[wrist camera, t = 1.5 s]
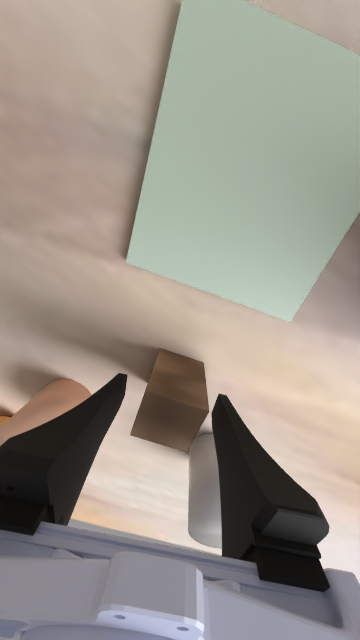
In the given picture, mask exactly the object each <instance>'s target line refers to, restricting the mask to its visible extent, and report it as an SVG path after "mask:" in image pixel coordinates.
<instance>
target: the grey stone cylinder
mask: <svg viewBox="0 0 360 640" xmlns="http://www.w3.org/2000/svg"><path fill="white" fill-rule="evenodd" d="M188 532H189V535H190V536H191V537H192V538H193V539H194V540H195V541H197V542H198V543H200V544H203V545H206V546H209V547H214V548H222V527H221V502H220V484H219V470H218V462H217V455H216V449H215V442H214V436H213V433H207V434H202V435H200V436H197V437H196V438H194V440H193V441H192V443H191V445H190V447H189V512H188Z"/></svg>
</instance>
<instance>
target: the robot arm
mask: <svg viewBox="0 0 360 640" xmlns="http://www.w3.org/2000/svg"><path fill="white" fill-rule="evenodd" d="M126 382H127V374H122V373H119V374H117V375H116V376H115V377H114V378H113V379H112V380H111V381H109V382H108V383H107V384H106V385H105V386H103V387H102V388H101V389H100V390H98V391H97V392H96V393H94V394H93V395H92V396H90V397H89V398H87V399H86V400H85V401H83V402H82V403H80V404H78V405H77V406H75V407H74V408H72V409H70V410H69V411H67V412H65V413H63V414H62V415H60V416H58V417H56V418H54V419H52V420H50V421H48V422H46V423H44V424H42V425H40V426H37V427H35V428H33V429H31V430H28V431H26V432H23V433H21V434H18V435H16V436H13V437H11V438H9V439H8V440H6V441H5V442H4V443H3V444H2V445H1V446H0V640H360V584H359V582H358V580H357V578H356V576H355V575H354V574H353V573H352V572H347V571H342V570H337V569H331V568H327V569H323V568H322V566H321V563H320V561H319V559H320V558H321V554H320V552H319V549H318V547H317V544H318V543H319V542H320V541H321V540H322V539H324V538H325V537H326V535H327V534H328V532H329V524H328V522H327V520H326V518H325V516H324V514H323V512H322V511H321V509H320V507H319V505H318V503H317V501H316V500H315V499H314V498H313V497H312V496H311V495H310V494H309V493H308V492H306V491H305V490H304V489H303V488H302V487H301V486H300V485H298V484H297V483H296V482H295V481H294V480H293V479H292V478H291V477H290V476H289V475H288V474H287V473H286V472H285V471H284V470H283V469H282V468H281V467H280V466H279V465H278V464H277V463H276V462H275V461H274V460H273V459H272V458H271V457H270V455H269V454H268V453H267V452H266V451H265V450H264V449H263V447H262V446H261V445H260V444H259V443H258V441H257V440H256V439H255V438H254V436H253V435H252V434H251V432H250V431H249V429H248V428H247V427H246V425H245V424H244V422H243V421H242V419H241V418H240V416H239V415H238V413H237V412H236V410H235V408H234V407H233V405H232V403H231V402H230V400H229V399H228V397H227V395H222V394H219V395H218V397H217V400H216V403H215V405H214V408H213V411H212V429H213V436H214V442H215V449H216V455H217V462H218V470H219V484H220V502H221V527H222V556H217V555H212V554H207V553H202V552H196V551H191V550H186V549H181V548H176V547H171V546H166V545H160V544H155V543H150V542H145V541H140V540H135V539H130V538H125V537H119V536H115V535H109V534H105V533H99V532H94V531H88V530H84V529H79V528H73V527H68V526H67V525H68V523H69V520H70V517H71V515H72V512H73V510H74V507H75V505H76V502H77V500H78V497H79V495H80V492H81V490H82V487H83V485H84V482H85V480H86V477H87V475H88V473H89V470H90V468H91V466H92V463H93V461H94V458H95V456H96V454H97V452H98V449H99V447H100V445H101V443H102V441H103V439H104V437H105V435H106V433H107V431H108V429H109V427H110V425H111V424H112V422H113V420H114V418H115V416H116V414H117V412H118V410H119V408H120V406H121V404H122V401H123V399H124V396H125V390H126Z"/></svg>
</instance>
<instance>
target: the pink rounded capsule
mask: <svg viewBox="0 0 360 640" xmlns="http://www.w3.org/2000/svg"><path fill="white" fill-rule="evenodd" d="M90 396H92V395H91V393H90V392H89V391H88V390H87V389H86V388H85V387H84V386H83V385H81V384H80V383H78V382H76V381H73V380H70V379H56V380H54V381H52V382H50V383H49V384H48V385H47V386H46V387H45V388H43V389H42V390H41V391H40V392H39V393H38V394H37V395H36V396H34V397H33V398H32V399H31V400H30V401H29V402H28V403H27V404H25V405H24V406H23V407H22V408H21V409H20V410H19V411H18V412H17V413H15V414H14V415H13V416H12V417H11V418H10V419H9V420H8V421H6V422H5V423H4V424H3V425H2V426H1V427H0V446H1V445H2V444H3V443H4V442H5V441H6V440H8V439H9V438H11V437H13V436H16V435H18V434H21V433H23V432H26V431H28V430H31V429H33V428H35V427H37V426H40V425H42V424H44V423H46V422H48V421H50V420H52V419H54V418H56V417H58V416H60V415H62V414H63V413H65V412H67V411H69V410H70V409H72V408H74V407H75V406H77V405H78V404H80V403H82V402H83V401H85V400H86V399H87V398H89V397H90Z"/></svg>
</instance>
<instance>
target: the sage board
mask: <svg viewBox="0 0 360 640" xmlns="http://www.w3.org/2000/svg"><path fill="white" fill-rule="evenodd" d="M359 212H360V54H357V53H355V52H353V51H351V50H349V49H347V48H345V47H343V46H340V45H338V44H336V43H334V42H332V41H330V40H328V39H326V38H323V37H321V36H319V35H317V34H315V33H313V32H311V31H309V30H306V29H304V28H302V27H300V26H298V25H296V24H294V23H292V22H289V21H287V20H285V19H283V18H281V17H279V16H277V15H275V14H273V13H270V12H268V11H266V10H264V9H262V8H260V7H258V6H256V5H253V4H251V3H249V2H247V1H245V0H182V3H181V7H180V12H179V17H178V21H177V26H176V31H175V35H174V40H173V45H172V49H171V54H170V59H169V63H168V68H167V73H166V77H165V82H164V87H163V91H162V96H161V101H160V105H159V110H158V115H157V119H156V124H155V129H154V133H153V138H152V143H151V147H150V152H149V157H148V161H147V166H146V171H145V175H144V180H143V185H142V189H141V194H140V199H139V203H138V208H137V213H136V217H135V222H134V227H133V231H132V236H131V241H130V245H129V250H128V255H127V259H126V263H128V264H131V265H133V266H136V267H139V268H142V269H145V270H147V271H150V272H153V273H156V274H158V275H161V276H164V277H167V278H169V279H172V280H175V281H178V282H181V283H183V284H186V285H189V286H192V287H194V288H197V289H200V290H203V291H205V292H208V293H211V294H214V295H217V296H219V297H222V298H225V299H228V300H230V301H233V302H236V303H239V304H242V305H244V306H247V307H250V308H253V309H255V310H258V311H261V312H264V313H266V314H269V315H272V316H275V317H278V318H280V319H283V320H286V321H289V322H290V321H291V320H292V318H293V317H294V315H295V313H296V312H297V310H298V309H299V307H300V305H301V304H302V302H303V301H304V299H305V298H306V296H307V294H308V293H309V291H310V290H311V288H312V287H313V285H314V283H315V282H316V280H317V279H318V277H319V275H320V274H321V272H322V271H323V269H324V268H325V266H326V264H327V263H328V261H329V260H330V258H331V257H332V255H333V253H334V252H335V250H336V249H337V247H338V245H339V244H340V242H341V241H342V239H343V238H344V236H345V234H346V233H347V231H348V230H349V228H350V227H351V225H352V223H353V222H354V220H355V219H356V217H357V215H358V214H359Z"/></svg>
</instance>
